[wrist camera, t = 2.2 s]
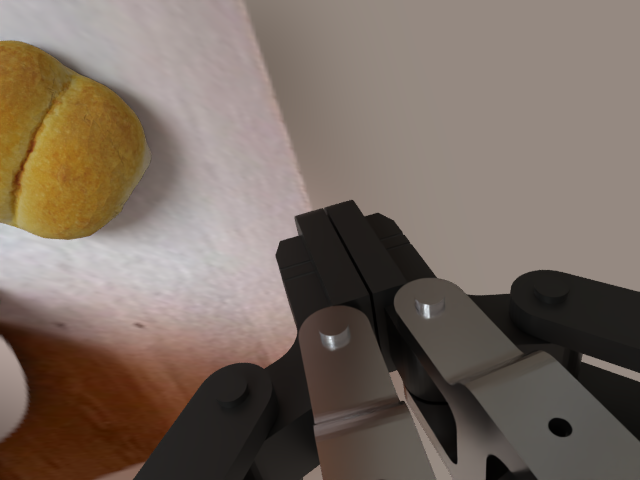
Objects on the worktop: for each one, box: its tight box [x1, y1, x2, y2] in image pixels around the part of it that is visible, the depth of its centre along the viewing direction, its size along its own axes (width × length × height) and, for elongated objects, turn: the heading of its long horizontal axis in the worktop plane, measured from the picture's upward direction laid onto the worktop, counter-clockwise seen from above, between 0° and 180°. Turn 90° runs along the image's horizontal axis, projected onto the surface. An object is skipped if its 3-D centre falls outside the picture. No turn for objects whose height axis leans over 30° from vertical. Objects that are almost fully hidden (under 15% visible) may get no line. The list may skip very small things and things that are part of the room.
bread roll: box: [0, 40, 152, 240], centre depth 21 cm, size 8×9×4 cm
